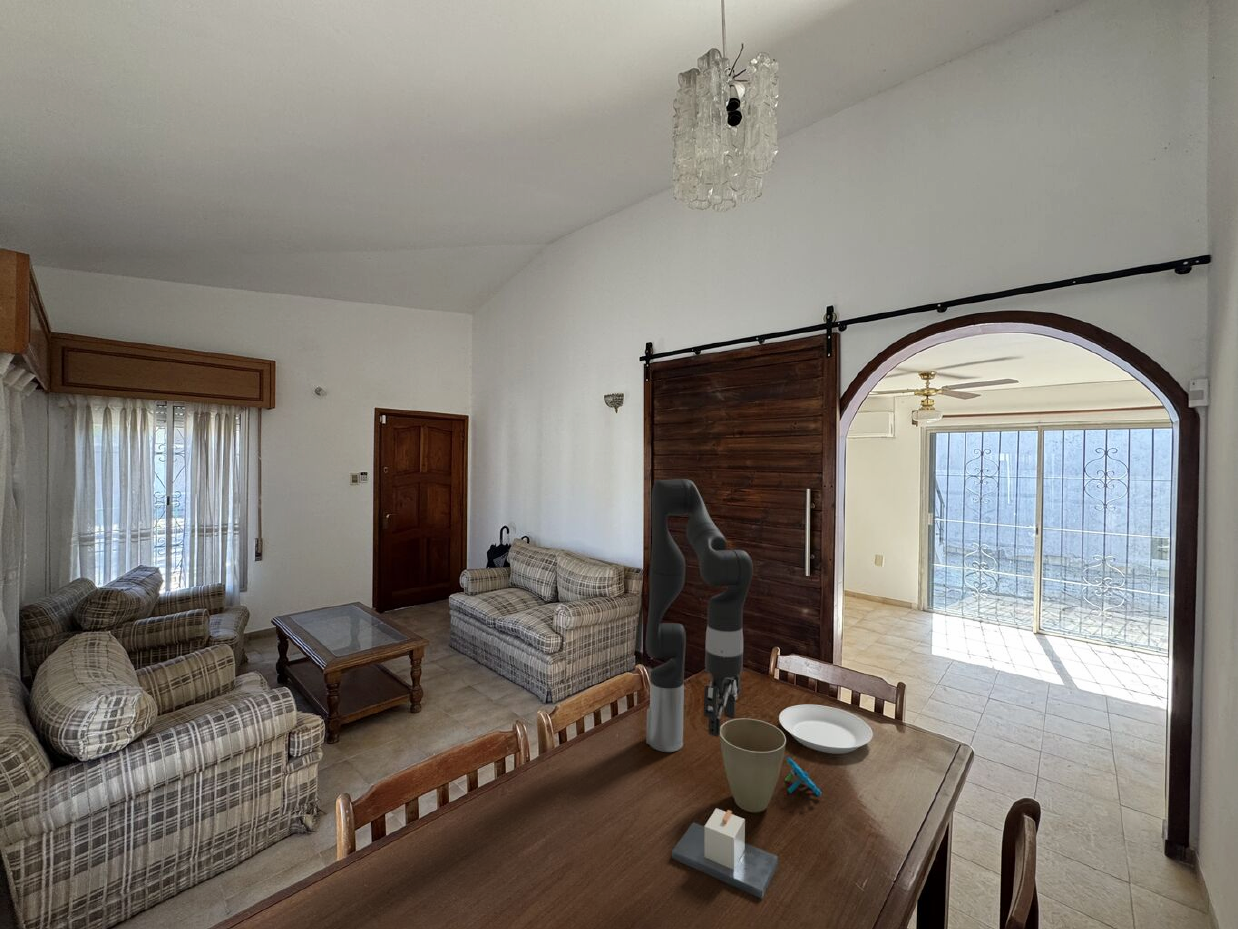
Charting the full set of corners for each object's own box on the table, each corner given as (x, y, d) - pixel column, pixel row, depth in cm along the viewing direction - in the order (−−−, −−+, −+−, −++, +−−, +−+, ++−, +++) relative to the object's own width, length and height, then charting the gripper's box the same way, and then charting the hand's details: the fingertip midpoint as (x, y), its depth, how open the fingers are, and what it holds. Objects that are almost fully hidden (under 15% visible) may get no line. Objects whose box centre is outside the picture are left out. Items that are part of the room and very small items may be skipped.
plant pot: (705, 791, 128) (706, 724, 128) (756, 777, 134) (758, 714, 134) (743, 832, 114) (745, 757, 114) (798, 814, 120) (800, 743, 120)
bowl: (877, 731, 158) (878, 718, 158) (865, 772, 137) (865, 758, 137) (791, 708, 172) (791, 697, 172) (767, 743, 151) (768, 730, 151)
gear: (829, 799, 123) (797, 766, 124) (811, 818, 123) (779, 784, 124) (813, 777, 134) (784, 747, 135) (796, 795, 134) (767, 764, 135)
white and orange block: (734, 870, 102) (734, 834, 101) (704, 857, 105) (704, 822, 105) (744, 849, 107) (744, 815, 106) (716, 837, 110) (716, 804, 110)
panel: (672, 858, 106) (672, 828, 106) (693, 829, 115) (693, 801, 115) (762, 899, 97) (762, 866, 97) (777, 864, 105) (778, 833, 105)
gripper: (729, 664, 102) (727, 748, 102) (753, 641, 114) (751, 716, 114) (692, 655, 106) (690, 736, 106) (719, 633, 118) (717, 706, 118)
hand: (722, 725), depth 110 cm, fingers open, 8 cm apart
